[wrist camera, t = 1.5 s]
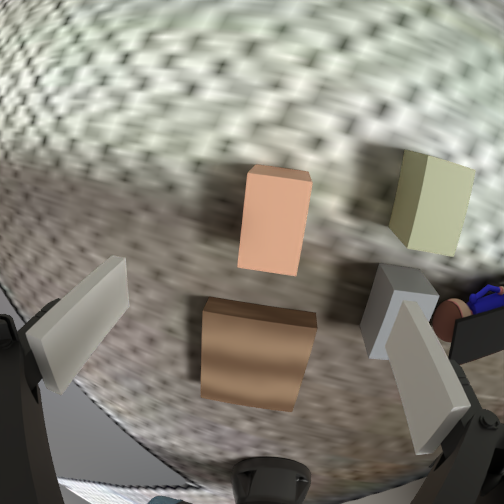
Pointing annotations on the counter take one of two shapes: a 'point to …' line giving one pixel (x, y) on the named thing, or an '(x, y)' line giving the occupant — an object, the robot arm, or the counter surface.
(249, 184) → the terracotta brick
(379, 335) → the grey brick
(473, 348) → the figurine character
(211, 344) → the walnut board
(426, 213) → the olive brick
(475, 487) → the robot arm
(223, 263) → the counter surface
